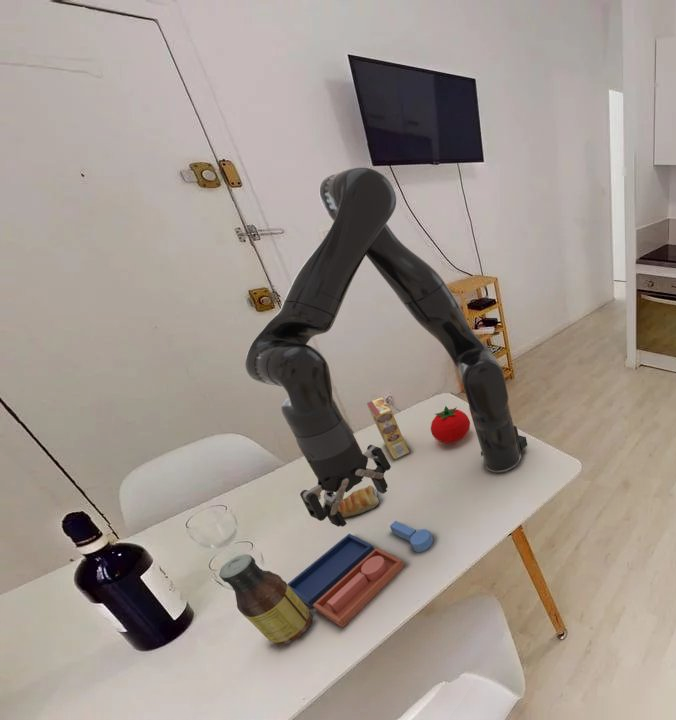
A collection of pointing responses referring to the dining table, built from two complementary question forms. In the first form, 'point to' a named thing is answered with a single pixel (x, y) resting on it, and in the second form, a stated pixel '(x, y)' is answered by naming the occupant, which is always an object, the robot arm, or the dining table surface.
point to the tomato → (450, 425)
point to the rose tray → (364, 595)
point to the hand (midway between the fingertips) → (362, 507)
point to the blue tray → (329, 569)
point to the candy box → (388, 427)
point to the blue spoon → (413, 536)
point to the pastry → (359, 502)
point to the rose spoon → (358, 582)
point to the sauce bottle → (266, 600)
